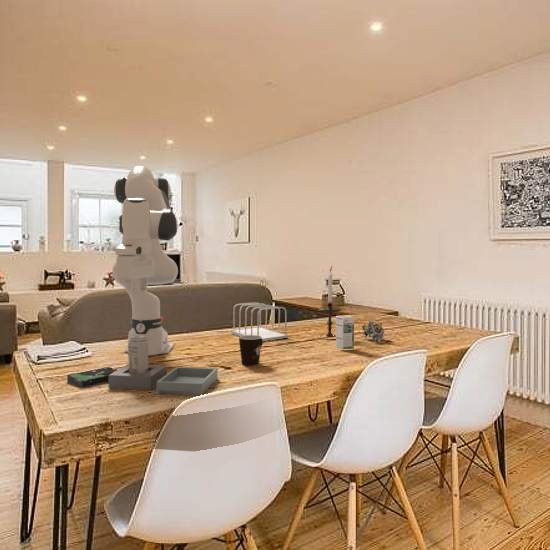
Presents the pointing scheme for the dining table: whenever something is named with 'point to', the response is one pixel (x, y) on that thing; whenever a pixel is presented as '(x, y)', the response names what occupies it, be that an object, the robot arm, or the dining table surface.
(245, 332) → the file sorter
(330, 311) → the candlestick
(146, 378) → the socket block
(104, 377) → the disk drive
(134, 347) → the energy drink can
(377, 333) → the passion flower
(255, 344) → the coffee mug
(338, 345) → the syrup box
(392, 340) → the dining table surface
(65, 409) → the dining table surface
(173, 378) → the parts tray
